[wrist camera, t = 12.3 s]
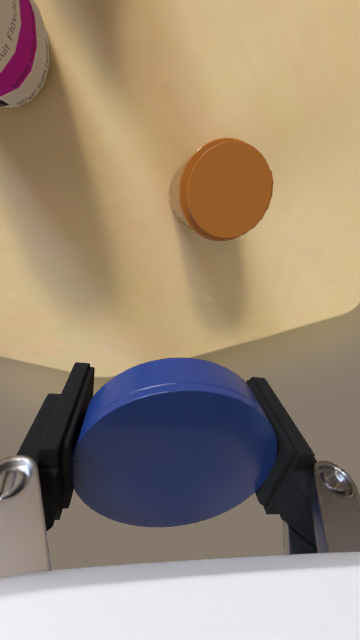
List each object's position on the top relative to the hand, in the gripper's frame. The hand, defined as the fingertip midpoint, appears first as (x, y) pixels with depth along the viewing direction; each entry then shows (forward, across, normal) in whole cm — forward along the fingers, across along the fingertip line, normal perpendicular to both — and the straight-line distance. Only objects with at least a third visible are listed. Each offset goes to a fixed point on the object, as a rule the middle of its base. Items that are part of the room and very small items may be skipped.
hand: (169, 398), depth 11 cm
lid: (-3, 0, 0) cm, 3 cm away
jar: (+19, -3, -9) cm, 21 cm away
